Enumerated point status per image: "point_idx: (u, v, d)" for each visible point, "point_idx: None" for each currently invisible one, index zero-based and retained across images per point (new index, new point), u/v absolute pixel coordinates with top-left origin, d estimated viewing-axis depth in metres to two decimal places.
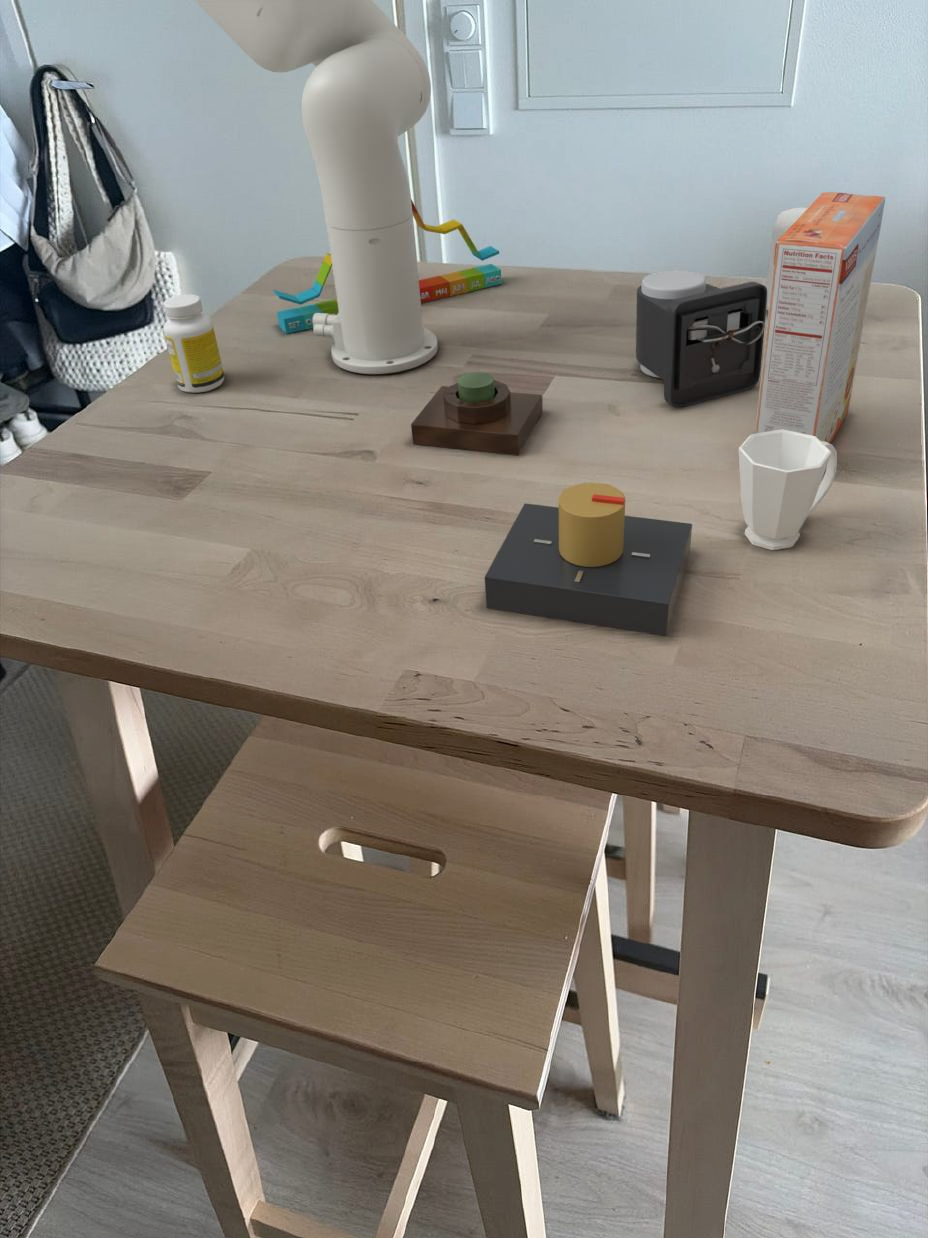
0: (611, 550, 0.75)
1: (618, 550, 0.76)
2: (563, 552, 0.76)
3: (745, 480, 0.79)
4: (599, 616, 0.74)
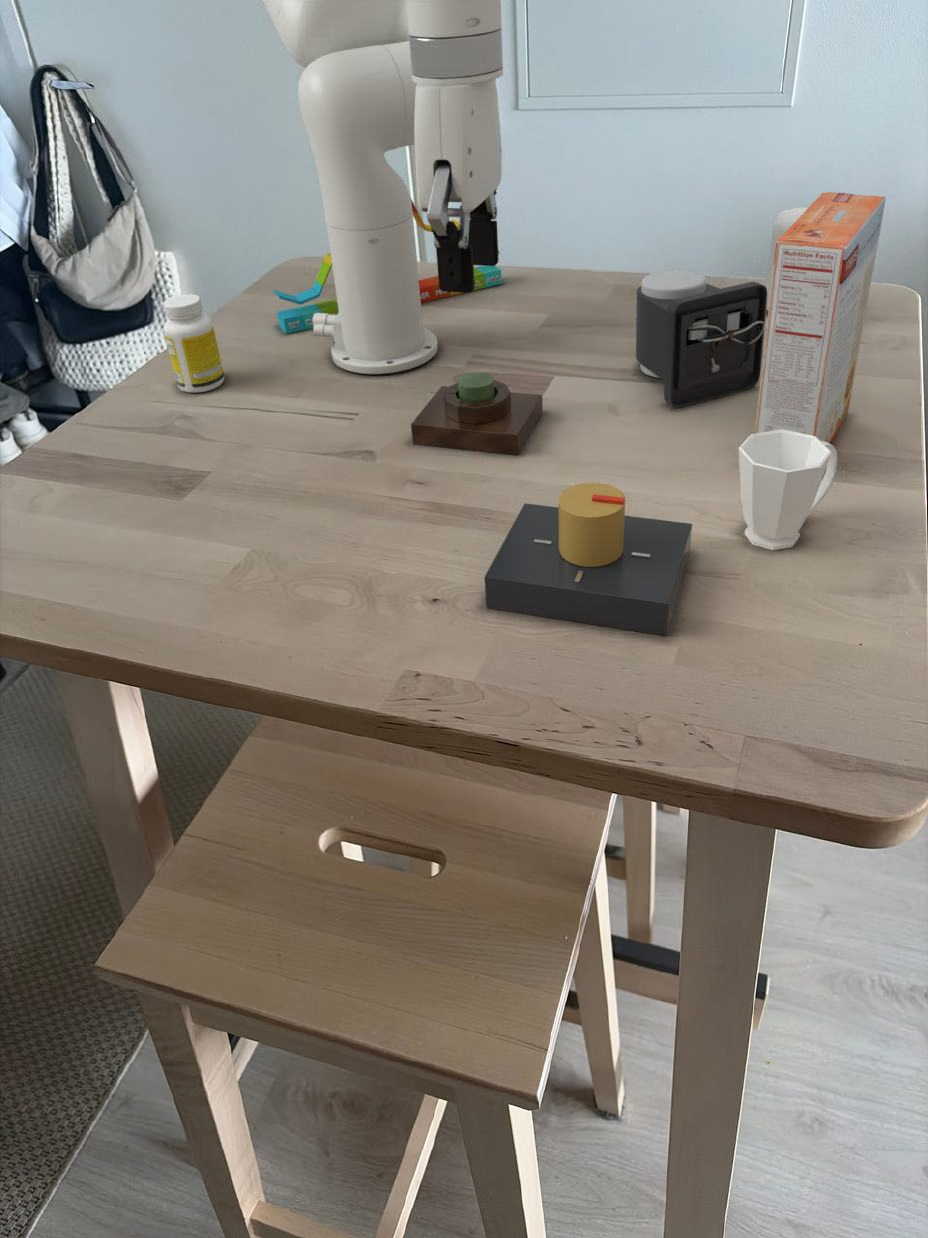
0: (611, 550, 0.75)
1: (618, 550, 0.76)
2: (563, 552, 0.76)
3: (745, 480, 0.79)
4: (599, 616, 0.74)
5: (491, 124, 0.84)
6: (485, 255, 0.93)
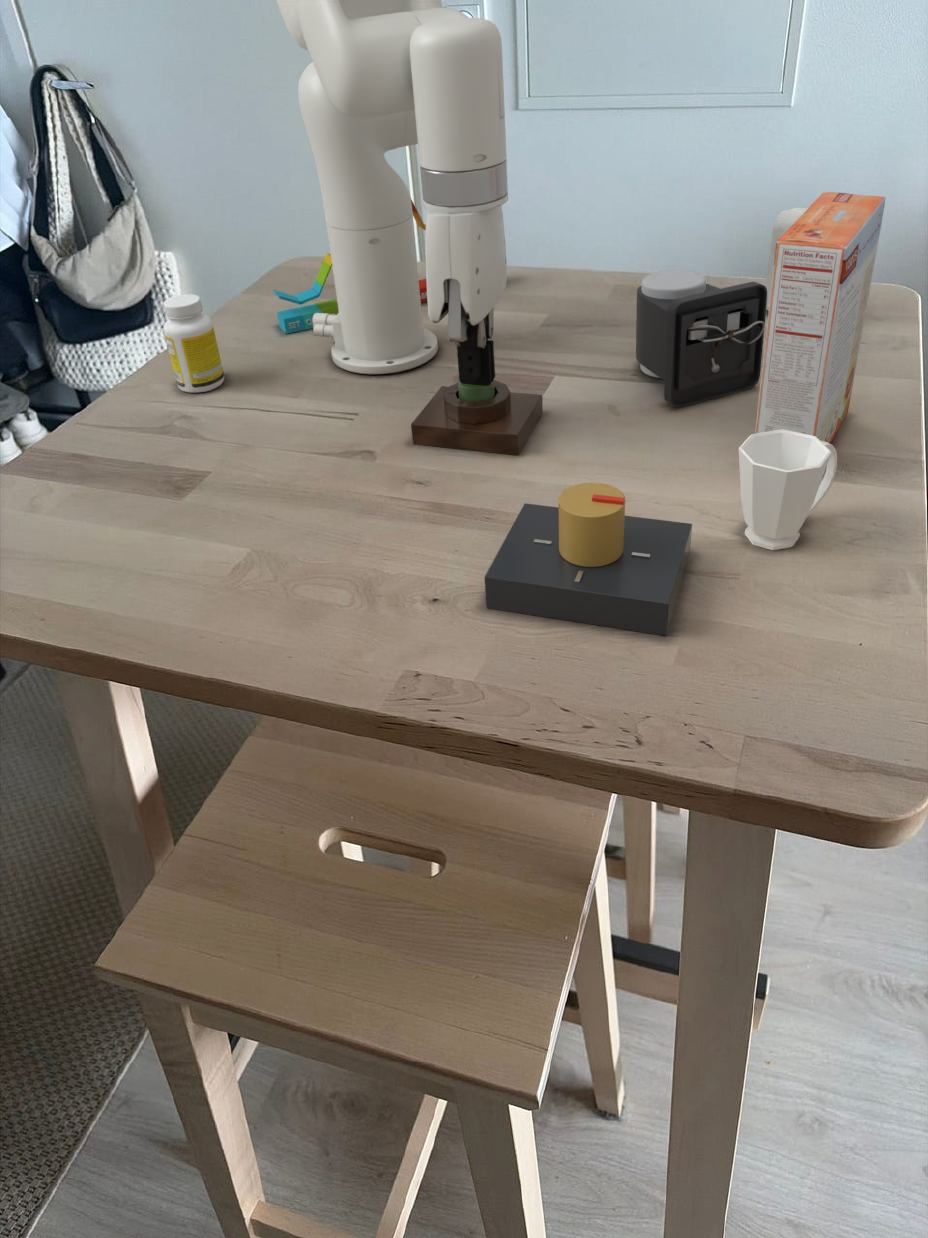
0: (611, 550, 0.75)
1: (618, 550, 0.76)
2: (563, 552, 0.76)
3: (745, 480, 0.79)
4: (599, 616, 0.74)
5: (497, 242, 0.90)
6: None
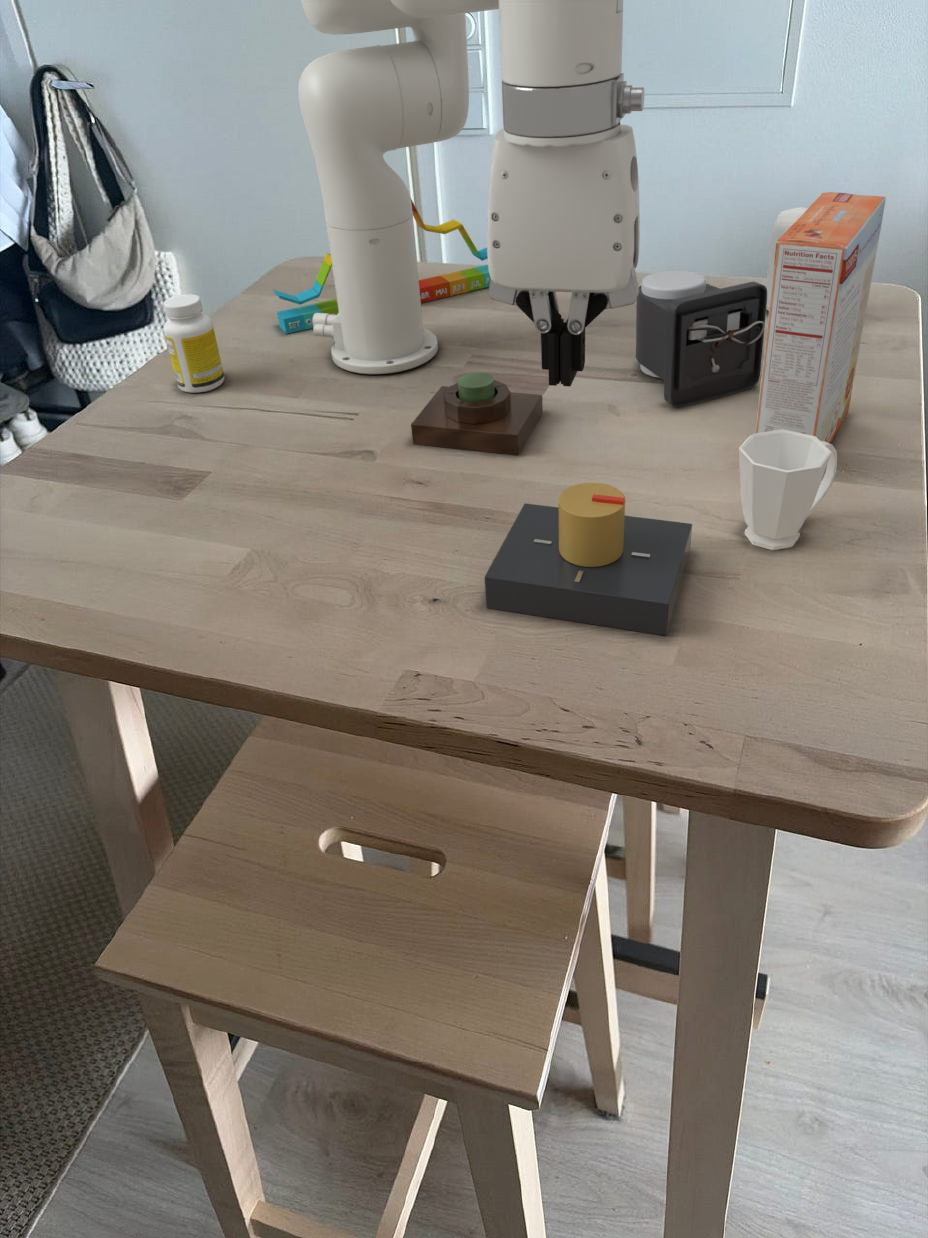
0: (611, 550, 0.75)
1: (618, 550, 0.76)
2: (563, 552, 0.76)
3: (745, 480, 0.79)
4: (599, 616, 0.74)
5: (565, 204, 0.65)
6: None
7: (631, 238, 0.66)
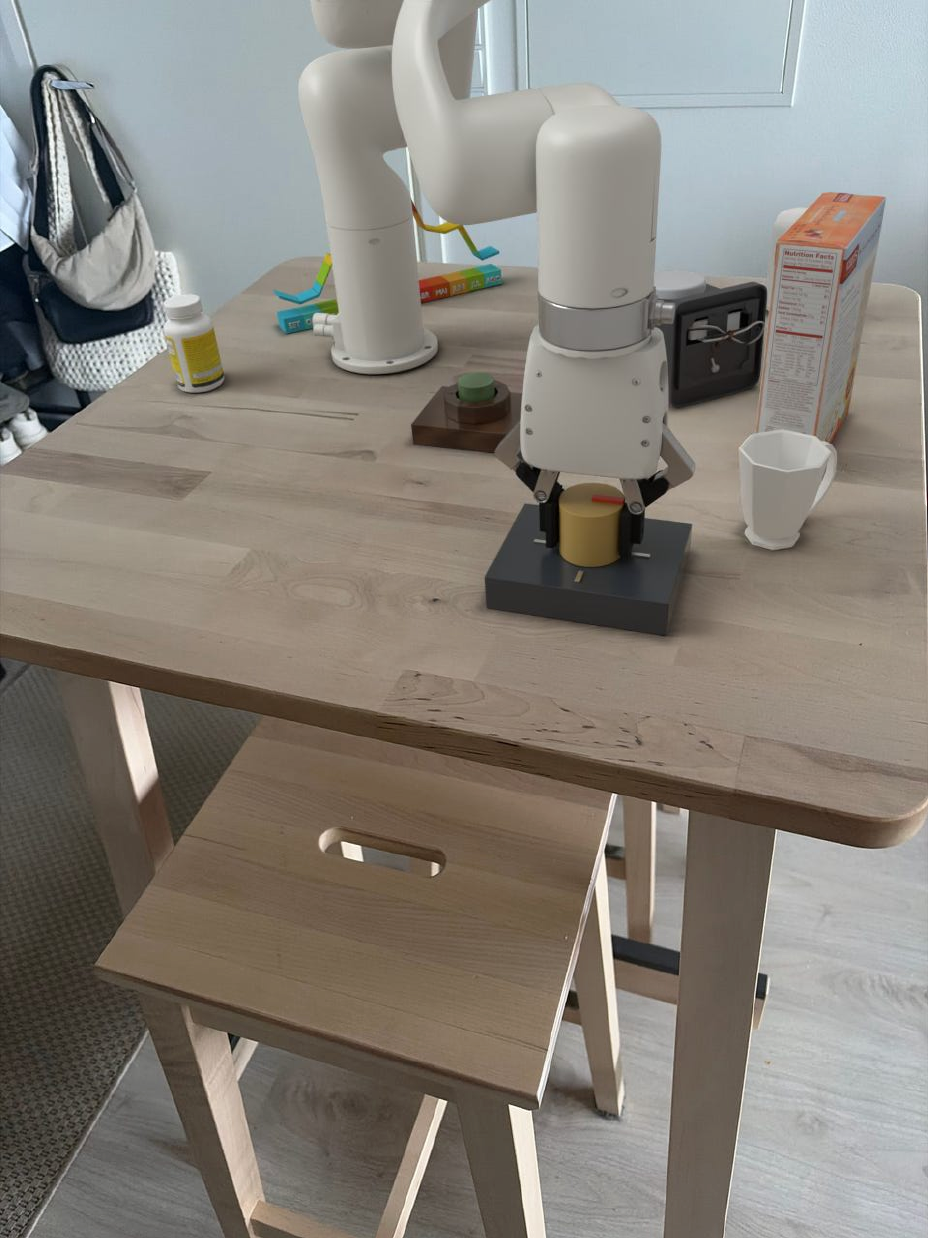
0: (611, 550, 0.75)
1: (618, 550, 0.76)
2: (563, 552, 0.76)
3: (745, 480, 0.79)
4: (599, 616, 0.74)
5: (595, 404, 0.67)
6: None
7: (659, 435, 0.68)
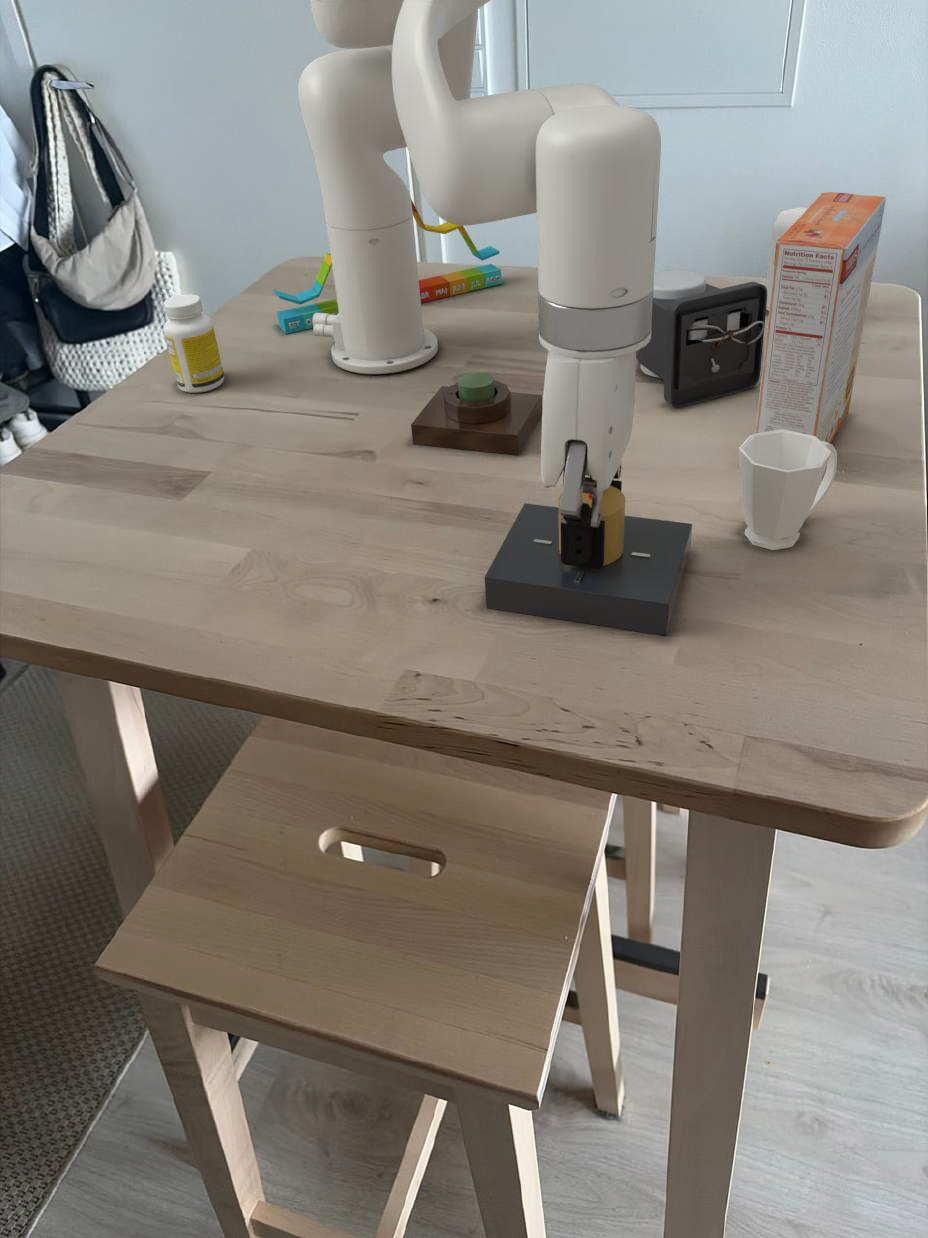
0: None
1: None
2: (608, 558, 0.75)
3: (745, 480, 0.79)
4: (599, 616, 0.74)
5: (631, 386, 0.69)
6: None
7: None
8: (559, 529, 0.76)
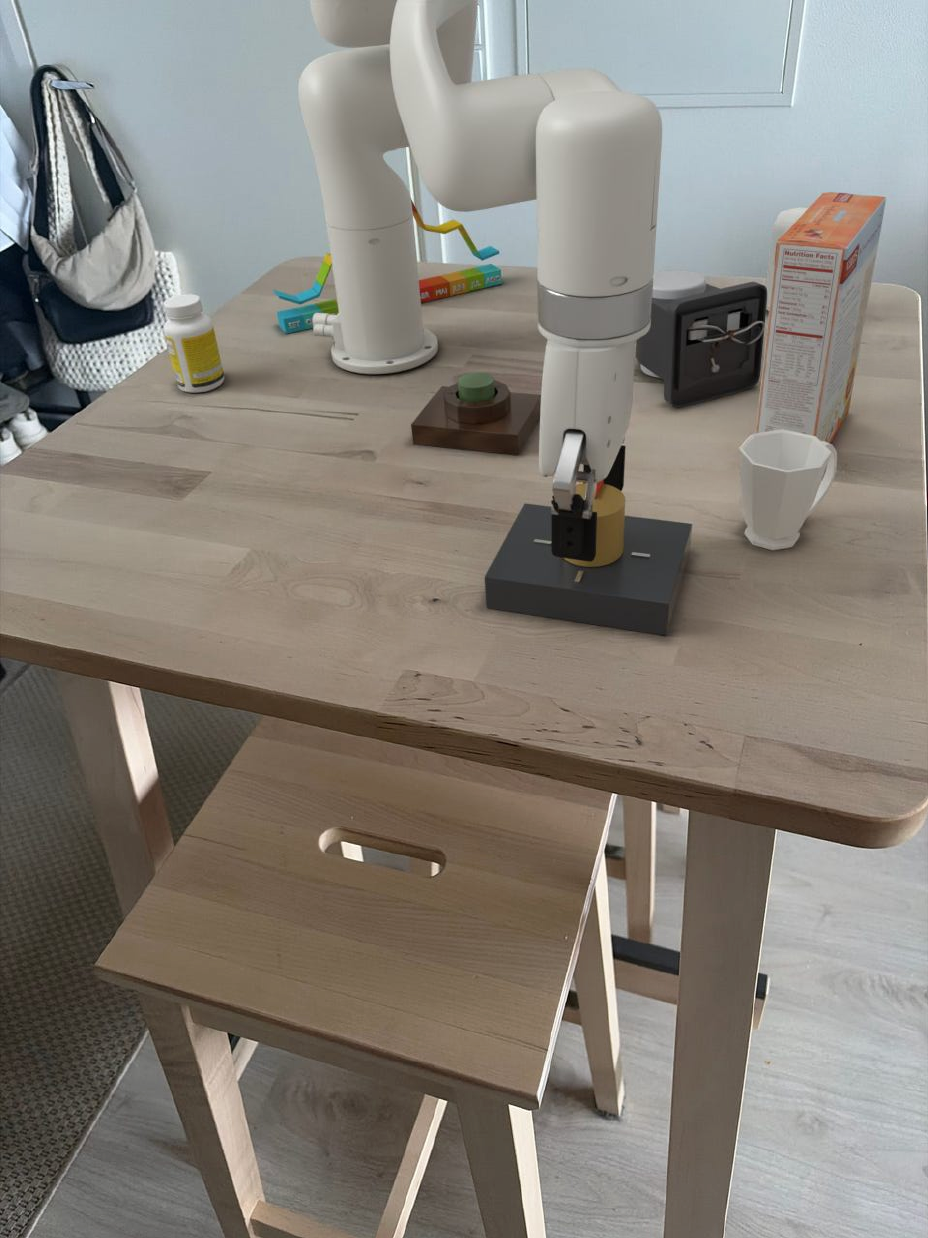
0: None
1: None
2: (607, 559, 0.75)
3: (745, 480, 0.79)
4: (599, 616, 0.74)
5: (630, 375, 0.69)
6: (609, 481, 0.79)
7: None
8: None
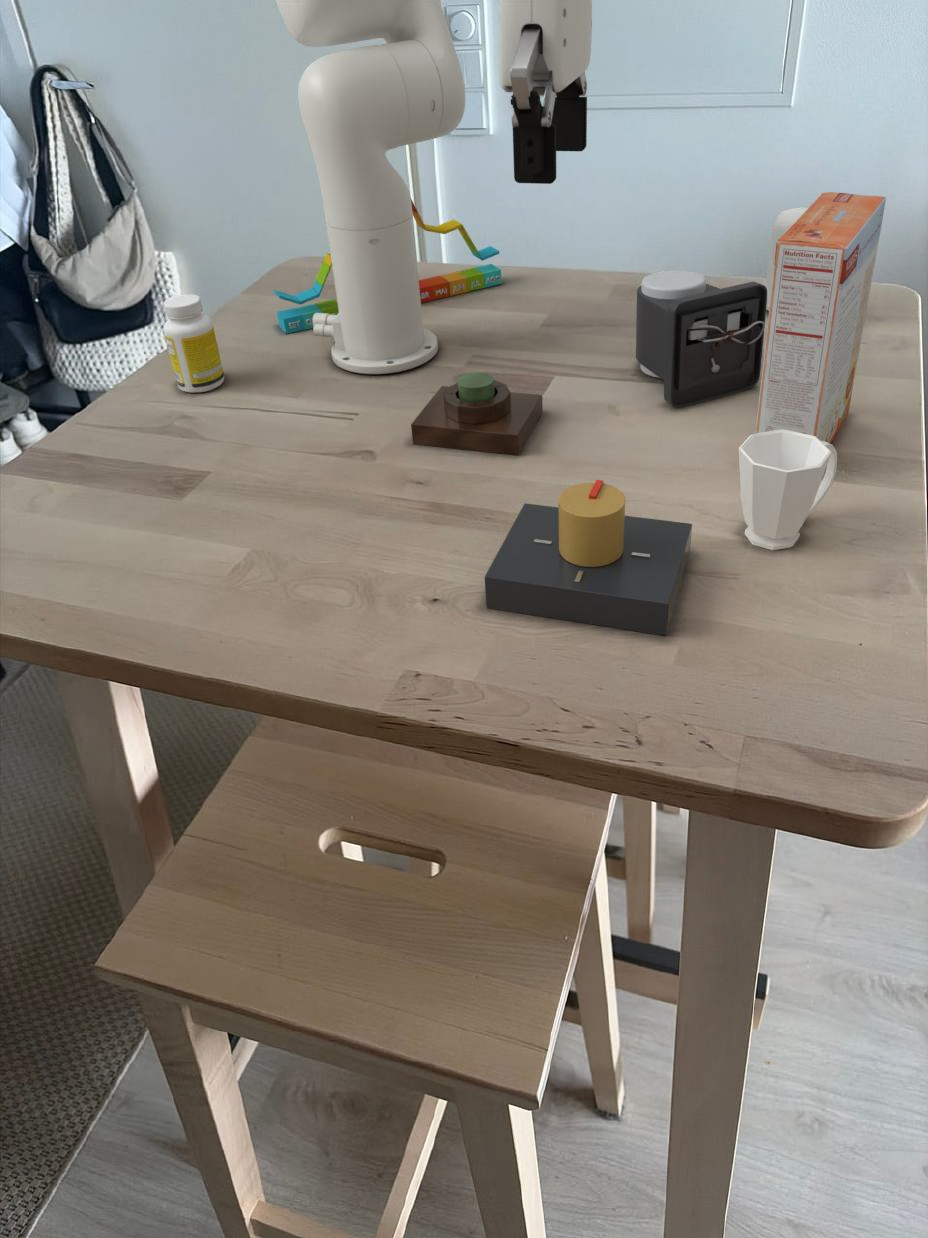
0: None
1: None
2: (607, 559, 0.75)
3: (745, 480, 0.79)
4: (599, 616, 0.74)
5: None
6: (572, 138, 0.82)
7: None
8: (559, 529, 0.76)
